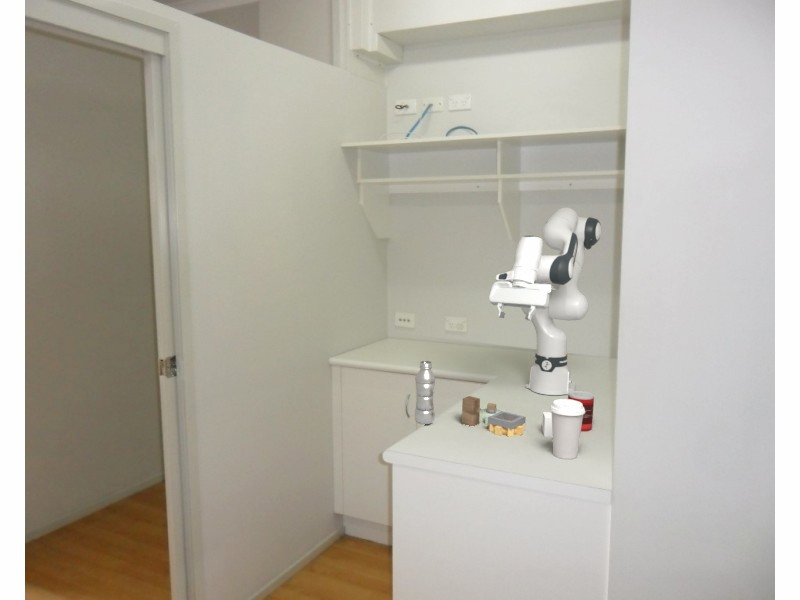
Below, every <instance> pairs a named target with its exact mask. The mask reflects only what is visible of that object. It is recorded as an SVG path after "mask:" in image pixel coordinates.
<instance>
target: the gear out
mask: <svg viewBox="0 0 800 600" xmlns="http://www.w3.org/2000/svg"><path fill="white" fill-rule="evenodd" d="M526 417H527V416H525V415H520V414H515V413H513V412H508V411H506V412H504V411H501V412H499V413H497V414H494V415H492V416H489V417H488V424H487V425H488V431H489V432H490V433H492V432H493V433H494V435H496V436H499V435H500V436H502V435H503V434H504V435H503V436H505V435H506V436H507V437H508V436H509V438H510V436H513V438H514V437H515V435H518V436H521V435H523V434H524V432H525V424H526V420H527V419H526Z"/></svg>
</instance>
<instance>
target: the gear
mask: <svg viewBox="0 0 800 600" xmlns="http://www.w3.org/2000/svg"><path fill="white" fill-rule="evenodd" d="M501 411H504V412H507V410H505V409H498V407H497V403H493V402H492V403H490V402H488V403H487V405H486V407H480V416H479V423H482V422H483V423H484V424H485V425H489V424H488V417H489V416H492V415H494V414H497V413H499V412H501Z"/></svg>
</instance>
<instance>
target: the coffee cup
mask: <svg viewBox="0 0 800 600" xmlns="http://www.w3.org/2000/svg"><path fill="white" fill-rule="evenodd" d="M549 410H550V411H551V412H552V435H553V437H552V454H553V456H555V457H556V458H559V459H561V458H562V459H561V460H574V459H577V457H578V453H579V452H578V451H579V447H580V446H579V445H580V437H581V432H582V431H581V426H582V419H583V414H585V409H584V407H583V404H582V403H581V402H579V401H575V400H570V399H568V398H567V399H566V398H561V399H560V398H558V399H554V400H553V401H552V404H551V405H550V407H549Z"/></svg>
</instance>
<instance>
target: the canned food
mask: <svg viewBox="0 0 800 600" xmlns="http://www.w3.org/2000/svg"><path fill="white" fill-rule="evenodd" d="M567 399H570V400H575V401H579V402H581V403H582V404H583V407H584V409H585V414H583V419H582V426H581V432H589V431H591V430H592V428H593V422H594V421H593V420H594V419H593V418H594V403H595V395H594V394H593V393H592V392H589V391H584V390H583V391H582V390H575V391H571V392H569V393H568V394H567Z"/></svg>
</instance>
